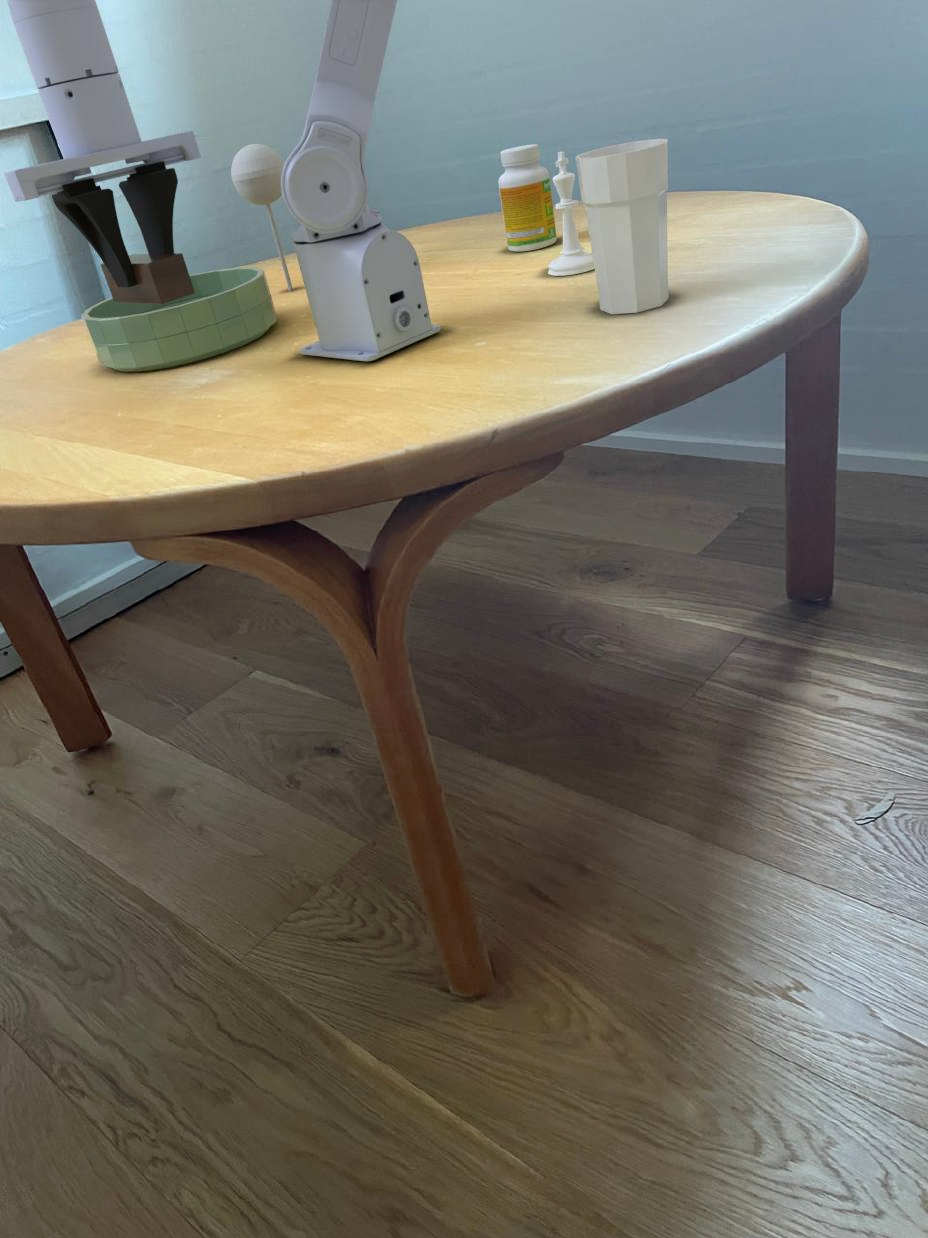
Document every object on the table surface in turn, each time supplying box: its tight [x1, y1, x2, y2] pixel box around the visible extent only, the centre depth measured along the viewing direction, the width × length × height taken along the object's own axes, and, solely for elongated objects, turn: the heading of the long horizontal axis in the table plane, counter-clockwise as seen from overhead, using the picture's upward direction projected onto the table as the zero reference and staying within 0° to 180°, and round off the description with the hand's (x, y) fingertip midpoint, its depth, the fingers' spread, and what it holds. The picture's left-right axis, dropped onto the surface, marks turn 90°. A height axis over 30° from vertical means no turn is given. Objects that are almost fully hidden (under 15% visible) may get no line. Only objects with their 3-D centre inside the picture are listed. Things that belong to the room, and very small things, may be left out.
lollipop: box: [230, 143, 294, 292], centre depth 100 cm, size 6×6×15 cm
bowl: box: [80, 266, 277, 373], centre depth 87 cm, size 17×17×5 cm
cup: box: [575, 138, 670, 315], centre depth 68 cm, size 7×7×11 cm
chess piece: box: [547, 150, 595, 277], centre depth 83 cm, size 5×5×10 cm
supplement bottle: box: [497, 143, 557, 253], centre depth 97 cm, size 5×5×10 cm
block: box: [100, 252, 195, 304], centre depth 72 cm, size 8×3×3 cm, turn 46°
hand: (147, 279), depth 72 cm, fingers closed on block, 3 cm apart
